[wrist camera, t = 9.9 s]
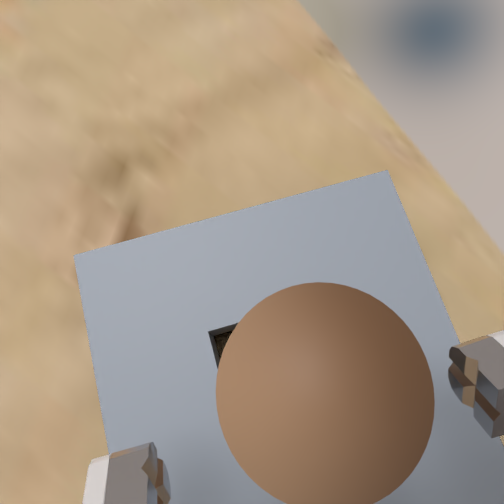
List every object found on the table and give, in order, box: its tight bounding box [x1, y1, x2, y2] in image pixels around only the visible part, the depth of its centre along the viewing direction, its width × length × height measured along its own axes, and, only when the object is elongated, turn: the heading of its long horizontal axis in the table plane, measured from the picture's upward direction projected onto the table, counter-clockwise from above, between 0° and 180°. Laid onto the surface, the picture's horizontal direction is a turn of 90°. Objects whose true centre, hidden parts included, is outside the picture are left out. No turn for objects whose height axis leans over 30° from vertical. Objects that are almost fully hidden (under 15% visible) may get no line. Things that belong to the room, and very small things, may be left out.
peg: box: [216, 282, 435, 504], centre depth 12 cm, size 4×4×12 cm
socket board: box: [74, 170, 504, 504], centre depth 17 cm, size 14×14×2 cm
